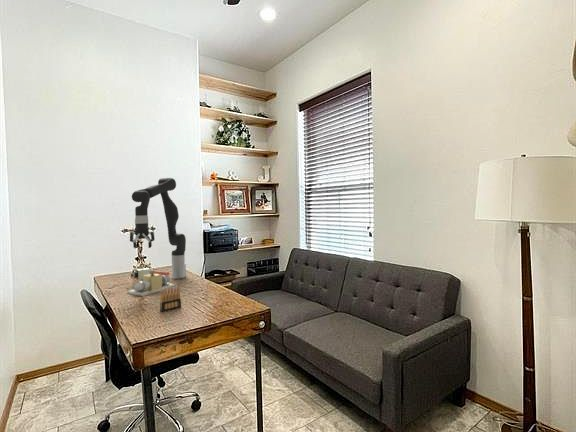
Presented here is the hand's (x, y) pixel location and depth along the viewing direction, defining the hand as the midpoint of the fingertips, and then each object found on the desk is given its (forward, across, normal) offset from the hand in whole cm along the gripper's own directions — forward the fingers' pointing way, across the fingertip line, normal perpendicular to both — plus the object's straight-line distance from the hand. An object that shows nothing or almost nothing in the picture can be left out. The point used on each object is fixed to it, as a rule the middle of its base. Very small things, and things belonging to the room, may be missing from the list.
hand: (142, 248), depth 203 cm
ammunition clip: (+27, -26, +40) cm, 55 cm away
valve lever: (+17, -10, +1) cm, 19 cm away
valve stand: (+28, -5, -2) cm, 28 cm away
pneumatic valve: (+28, +6, -17) cm, 33 cm away
